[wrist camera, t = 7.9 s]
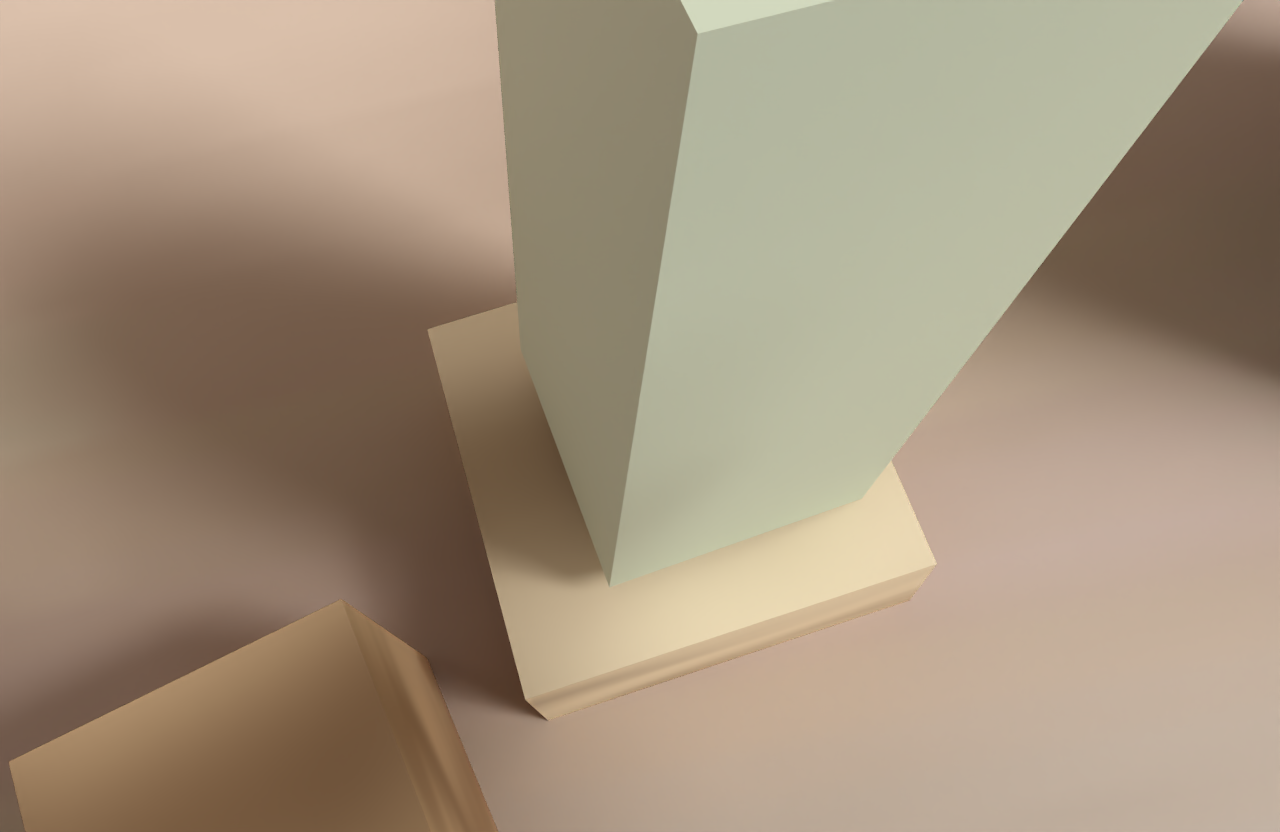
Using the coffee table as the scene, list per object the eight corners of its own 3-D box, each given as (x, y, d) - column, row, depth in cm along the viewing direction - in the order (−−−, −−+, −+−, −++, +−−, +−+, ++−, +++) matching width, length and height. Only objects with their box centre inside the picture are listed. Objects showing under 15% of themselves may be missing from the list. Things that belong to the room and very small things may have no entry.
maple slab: (905, 605, 20) (936, 563, 17) (550, 722, 20) (524, 699, 17) (776, 297, 23) (785, 220, 20) (461, 395, 22) (427, 329, 20)
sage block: (861, 498, 18) (1337, -125, 7) (609, 587, 17) (698, 32, 6) (756, 278, 19) (1006, -506, 9) (520, 349, 19) (462, -430, 8)
